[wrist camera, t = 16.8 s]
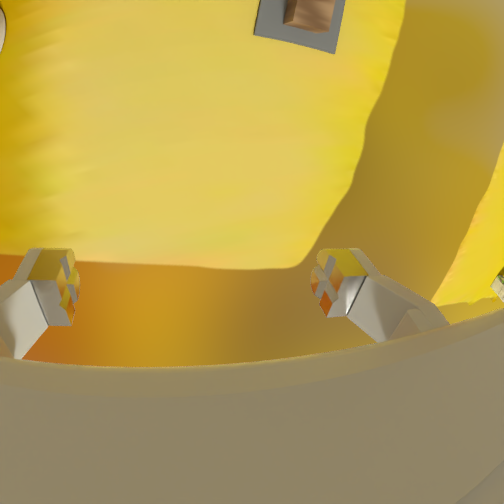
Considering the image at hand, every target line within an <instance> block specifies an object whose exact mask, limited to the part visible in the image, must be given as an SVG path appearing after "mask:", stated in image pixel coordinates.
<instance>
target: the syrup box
mask: <svg viewBox="0 0 504 504" xmlns="http://www.w3.org/2000/svg"><path fill="white" fill-rule="evenodd" d="M490 287H491V288H492V289H493V290H494V291H495V292H496V294H497V295H498V296H499V297H500V298H501V299H502V301H503V302H504V277H503V276H498V275H497V277H496V278H495V280H494V282H493V283H492V285H491V286H490Z"/></svg>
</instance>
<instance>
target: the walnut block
mask: <svg viewBox="0 0 504 504" xmlns="http://www.w3.org/2000/svg"><path fill="white" fill-rule="evenodd" d="M334 5H335V0H288V3H287V8H286V12H285V17H284V22H283V24H284V25H288V26H292V27H296V28H299V29H303V30H306V31H310V32H313V33H324V32H329V28H330V24H331V19H332V14H333V10H334Z"/></svg>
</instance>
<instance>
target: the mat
mask: <svg viewBox="0 0 504 504" xmlns="http://www.w3.org/2000/svg"><path fill="white" fill-rule="evenodd" d="M287 3H288V0H260V5H259V10H258V15H257V20H256V25H255V30H254V35H255V36H261V37H266V38H271V39H276V40H281V41H286V42H290V43H294V44H298V45H302V46H306V47H310V48H314V49H317V50H321V51H324V52H328V53H331V54H335V51H336V46H337V41H338V36H339V31H340V26H341V21H342V16H343V10H344V5H345V0H335V5H334V10H333V14H332V19H331V24H330V28H329V32H324V33H313V32H310V31H306V30H303V29H299V28H296V27H292V26H288V25H284V24H283V22H284V17H285V12H286V8H287Z"/></svg>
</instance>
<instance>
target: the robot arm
mask: <svg viewBox="0 0 504 504" xmlns="http://www.w3.org/2000/svg"><path fill="white" fill-rule="evenodd" d="M5 29H6V25H5V17H4V14H3V12H2V10H1V9H0V52H1V49H2V46H3V42H4V38H5ZM74 262H75V256H74V252H73V250H72V249H71V248H31V249H29V250H28V252H27V254H26V256H25V257H24V259H23V261H22V263H21V265H20V267H19V269H18V270H17V272H16V274H15V276H14V278H13V280H8V281H7V282H5V283H4V284H2V285H1V286H0V504H504V308H501V309H497V310H494V311H491V312H489V313H486V314H482V315H480V316H476V317H474V318H470V319H467V320H464V321H461V322H457V323H454V324H451V325H450V324H449V323H448V321H447V320H446V319H445V317H444V316H443V315H442V314H441V312H440V311H439V310H438V308H437V307H436V306H435V304H433V303H431V302H430V301H428V300H426V299H425V298H423V297H421V296H420V295H418V294H416V293H415V292H413V291H411V290H410V289H408V288H406V287H404V286H403V285H401V284H399V283H397V282H396V281H394V280H392V279H390V278H389V277H387V276H385V275H381V274H380V273H379V272H378V270H377V269H376V268H375V267H374V266H373V264H372V263H371V262H370V260H369V259H368V258H367V257H366V255H365V254H364V253H363V252H362V251H361V250H360V249H358V248H349V249H321V250H320V252H319V253H318V256H317V262H318V265H317V266H316V267H315V268H314V269H313V270H312V274H311V288H312V291H313V293H314V295H315V296H317V297H318V298H320V299H321V300H320V303H319V305H320V307H321V308H322V310H323V312H324V314H325V316H326V317H327V318H328V317H338V316H347V317H348V318H349V319H350V320H351V321H352V322H354V323H355V324H356V325H358V327H360V328H361V329H362V330H363V331H365V332H366V333H367V334H368V335H369V336H370V337H372V338H373V339H374V340H375V341H377V342H378V343H374V344H370V345H365V346H360V347H355V348H349V349H343V350H338V351H332V352H326V353H319V354H313V355H306V356H299V357H292V358H284V359H275V360H267V361H257V362H247V363H235V364H224V365H206V366H186V367H185V366H184V367H106V366H104V367H103V366H83V365H69V364H58V363H47V362H38V361H30V360H22V358H23V356H24V355H25V354H26V353H27V351H28V350H29V349H30V348H31V346H32V345H33V344H34V343H35V342H36V340H37V339H38V338H39V337H40V335H42V333H43V332H44V331H45V330H46V329H47V327H48V325H53V326H71V325H72V321H73V317H74V313H75V308H74V305H73V304H74V303H75V302H76V301H77V300H78V297H79V294H80V279H79V274H78V271H77V270H76V269H75V268H74V267H73V265H74Z"/></svg>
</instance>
